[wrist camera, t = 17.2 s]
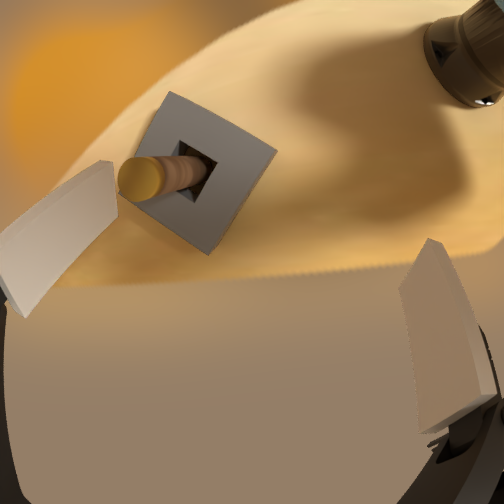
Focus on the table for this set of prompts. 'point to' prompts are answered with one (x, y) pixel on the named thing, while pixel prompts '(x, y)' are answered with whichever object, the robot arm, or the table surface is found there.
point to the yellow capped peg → (161, 175)
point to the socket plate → (220, 181)
